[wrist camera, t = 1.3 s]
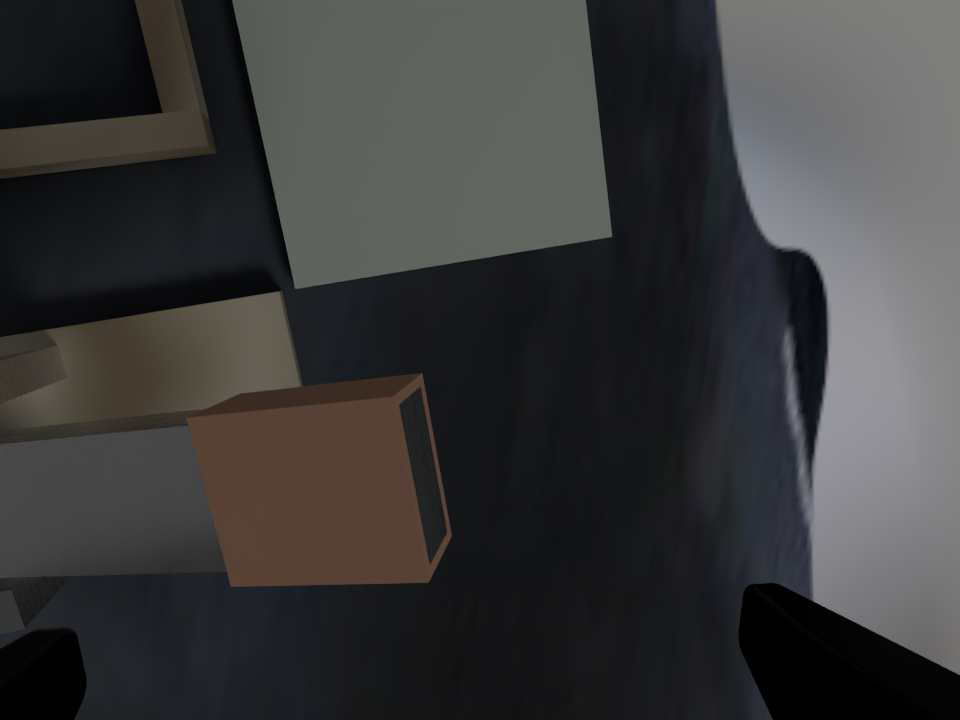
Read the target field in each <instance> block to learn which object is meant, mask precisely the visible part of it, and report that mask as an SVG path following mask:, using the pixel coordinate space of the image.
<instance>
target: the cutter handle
mask: <svg viewBox="0 0 960 720" xmlns="http://www.w3.org/2000/svg"><path fill="white" fill-rule="evenodd" d="M451 536H452V535H451V530H450V524H449V519H448V513H447V508H446V502H445V497H444V491H443V486H442V480H441V475H440V469H439V464H438V458H437V453H436V447H435V442H434V436H433V431H432V425H431V420H430V414H429V409H428V403H427V398H426V392H425V387H424V381H423V376H422V373H420V374H411V375H402V376H393V377H384V378H375V379H366V380H357V381H348V382H339V383H330V384H321V385H312V386H303V387H294V388H285V389H276V390H267V391H258V392H249V393H240V394H238V395H236V396H233V397H231V398H229V399H227V400H225V401H222V402H220V403H218V404H216V405H214V406H211V407H209V408H207V409H200V410H190V411H181V412H171V413H162V414H153V415H143V416H134V417H124V418H115V419H105V420H96V421H86V422H77V423H68V424H58V425H49V426H39V427H30V428H20V429H11V430H1V431H0V578H17V577H52V576H88V575H124V574H159V573H195V572H227V573H228V577H229V581H230V585H231V587H242V586H290V585H338V584H386V583H429V581H430V579H431V577H432V575H433V573H434V571H435V568H436V566H437V564H438V562H439V560H440V558H441V556H442V554H443V552H444V550H445V548H446V546H447V544H448V542H449V540H450V538H451Z"/></svg>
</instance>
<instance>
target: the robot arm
mask: <svg viewBox="0 0 960 720" xmlns="http://www.w3.org/2000/svg"><path fill="white" fill-rule="evenodd" d="M738 636H739V644H740V648H741V651H742V654H743V656H744V658H745V660H746V663H747V665H748V667H749V669H750V671H751V673H752V676H753V678H754V680H755V682H756V684H757V686H758V688H759V691H760V693H761V695H762V697H763V699H764V701H765V704H766V706H767V708H768V710H769V712H770V714H771V717H772V719H773V720H960V675H958V674H956V673H954V672H952V671H950V670H948V669H946V668H944V667H942V666H940V665H939V664H937V663H934V662H932V661H930V660H929V659H927V658H925V657H923V656H921V655H919V654H917V653H914V652H913V651H911V650H909V649H907V648H905V647H903V646H901V645H899V644H897V643H895V642H893V641H891V640H889V639H887V638H885V637H883V636H881V635H879V634H877V633H875V632H873V631H871V630H869V629H867V628H865V627H863V626H861V625H859V624H857V623H855V622H853V621H851V620H849V619H847V618H845V617H843V616H841V615H839V614H837V613H835V612H833V611H831V610H829V609H827V608H825V607H823V606H821V605H819V604H817V603H815V602H813V601H811V600H809V599H807V598H805V597H803V596H801V595H799V594H797V593H795V592H793V591H791V590H789V589H787V588H785V587H783V586H781V585H779V584H776V583H765V584H751V585H749V586H747V587H746V589H745V591H744V594H743V600H742V608H741V616H740V624H739V635H738ZM85 691H86V674H85V669H84V665H83V660H82V655H81V651H80V646H79V642H78V637H77V634H76V632H75V631H74V630H73V629H72V628H69V627H54V628H40V629H36V630H33V631H31V632H29V633H27V634H26V635H24V636H22V637H20V638H18V639H17V640H15V641H13V642H11V643H9V644H8V645H6V646H4V647H2V648H0V720H74V719H75V716H76V714H77V712H78V710H79V708H80V706H81V703H82V701H83V698H84V695H85Z"/></svg>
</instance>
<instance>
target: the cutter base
mask: <svg viewBox="0 0 960 720" xmlns="http://www.w3.org/2000/svg"><path fill="white" fill-rule="evenodd" d="M294 387H303V383H302V378H301V374H300V369H299V365H298V360H297V356H296V351H295V347H294V342H293V338H292V334H291V329H290V325H289V320H288V316H287V311H286V307H285V302H284V298H283V293H282V291H277V292H271V293H265V294H259V295H253V296H247V297H241V298H235V299H229V300H223V301H217V302H210V303H204V304H198V305H192V306H186V307H180V308H174V309H168V310H162V311H156V312H150V313H144V314H138V315H132V316H126V317H119V318H113V319H107V320H101V321H95V322H89V323H83V324H77V325H71V326H65V327H59V328H53V329H47V330H41V331H34V332H28V333H22V334H16V335H10V336H4V337H0V431H1V430H11V429H20V428H30V427H39V426H49V425H58V424H68V423H77V422H86V421H96V420H105V419H115V418H124V417H134V416H143V415H153V414H162V413H171V412H181V411H190V410H200V409H207V408H209V407H211V406H214V405H216V404H218V403H220V402H222V401H225V400H227V399H229V398H231V397H233V396H236V395H238V394H240V393H249V392H258V391H267V390H276V389H285V388H294ZM71 577H72V576H52V577H17V578H0V635H1V634H5V633H9V632H13V631H17V630H21V629H25V628H26V627H27V626H28V624H29V623H30V622H31V621H32V620H33V619H34V618H35V617H36V616H37V614H38V613H39V612H40V611H41V610H42V609H43V608H44V607H45V606H46V604H47V603H48V602H49V601H50V600H51V599H52V598H53V597H54V596H55V594H56V593H57V592H58V591H59V590H60V589H61V588H62V587H63V586H64V584H65V583H66V582H67V581H68V580H69V579H70V578H71Z"/></svg>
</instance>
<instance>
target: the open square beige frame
mask: <svg viewBox="0 0 960 720" xmlns="http://www.w3.org/2000/svg"><path fill="white" fill-rule="evenodd" d="M135 3H136V7H137V11H138V15H139V19H140V24H141V28H142V32H143V36H144V40H145V44H146V48H147V52H148V56H149V60H150V64H151V68H152V72H153V76H154V80H155V84H156V88H157V92H158V96H159V100H160V104H161V108H162V112H163V113H159V114H150V115H140V116H130V117H121V118H111V119H101V120H92V121H82V122H72V123H63V124H53V125H43V126H34V127H24V128H14V129H5V130H0V179H3V178H12V177H20V176H29V175H37V174H46V173H54V172H63V171H71V170H80V169H88V168H97V167H105V166H114V165H122V164H131V163H139V162H148V161H156V160H165V159H173V158H182V157H190V156H198V155H207V154H215V153H217V150H216V146H215V142H214V138H213V133H212V129H211V125H210V121H209V116H208V112H207V108H206V103H205V99H204V95H203V91H202V86H201V82H200V78H199V74H198V69H197V65H196V61H195V56H194V52H193V48H192V44H191V39H190V35H189V31H188V27H187V22H186V18H185V14H184V9H183V5H182V1H181V0H135Z"/></svg>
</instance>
